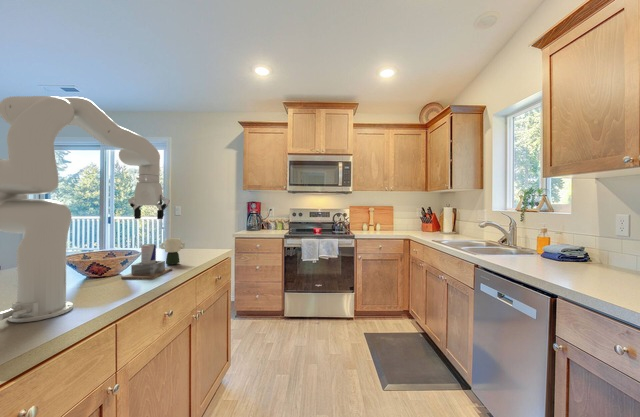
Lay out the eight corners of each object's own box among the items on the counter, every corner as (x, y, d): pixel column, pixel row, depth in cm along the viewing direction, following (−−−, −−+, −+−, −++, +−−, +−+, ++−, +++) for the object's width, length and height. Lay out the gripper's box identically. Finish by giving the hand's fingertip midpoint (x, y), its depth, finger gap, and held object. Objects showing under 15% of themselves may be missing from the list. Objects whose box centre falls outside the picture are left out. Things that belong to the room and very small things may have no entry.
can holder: (151, 279, 110) (151, 267, 110) (121, 279, 110) (121, 266, 109) (172, 270, 126) (172, 259, 126) (146, 269, 125) (146, 259, 125)
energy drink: (158, 270, 120) (158, 244, 120) (149, 273, 115) (149, 245, 114) (147, 270, 120) (147, 243, 120) (138, 273, 115) (138, 245, 115)
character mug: (186, 262, 142) (186, 238, 142) (182, 265, 135) (182, 239, 135) (163, 263, 140) (163, 238, 140) (158, 266, 133) (158, 240, 133)
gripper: (123, 178, 113) (122, 219, 113) (164, 179, 114) (164, 219, 114) (135, 180, 121) (134, 218, 121) (173, 180, 121) (173, 218, 121)
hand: (148, 218), depth 117 cm, fingers open, 9 cm apart
